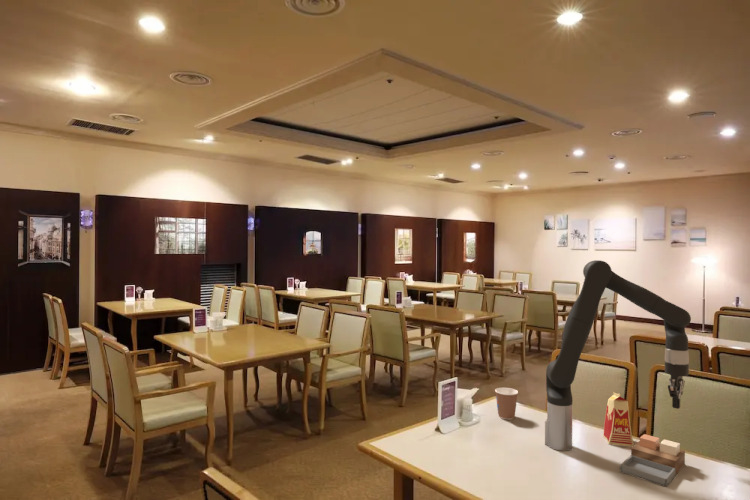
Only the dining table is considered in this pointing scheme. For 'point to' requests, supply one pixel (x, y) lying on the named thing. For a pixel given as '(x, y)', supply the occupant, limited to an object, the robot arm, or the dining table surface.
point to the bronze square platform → (659, 456)
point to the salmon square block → (649, 442)
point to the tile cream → (669, 447)
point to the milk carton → (617, 422)
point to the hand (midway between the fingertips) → (676, 407)
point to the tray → (648, 470)
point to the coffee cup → (506, 402)
